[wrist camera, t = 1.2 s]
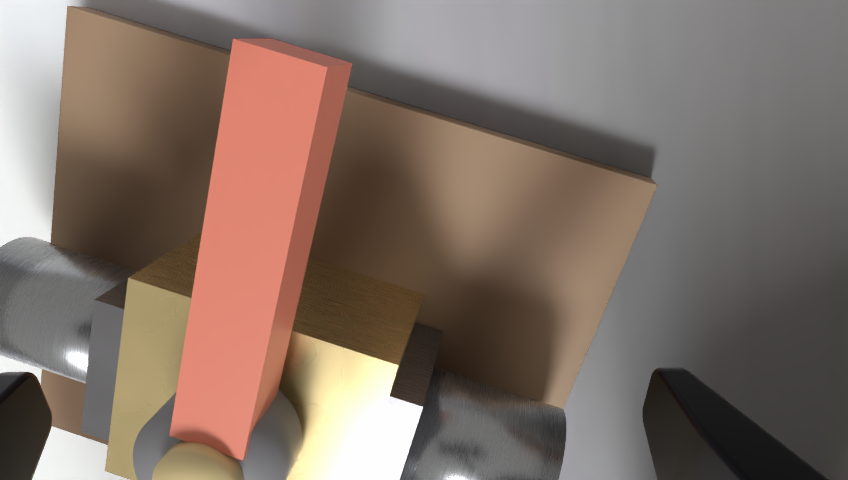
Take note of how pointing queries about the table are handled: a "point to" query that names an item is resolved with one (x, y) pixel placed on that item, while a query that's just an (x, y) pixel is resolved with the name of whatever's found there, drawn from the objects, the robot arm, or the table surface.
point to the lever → (250, 270)
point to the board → (351, 206)
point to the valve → (301, 377)
